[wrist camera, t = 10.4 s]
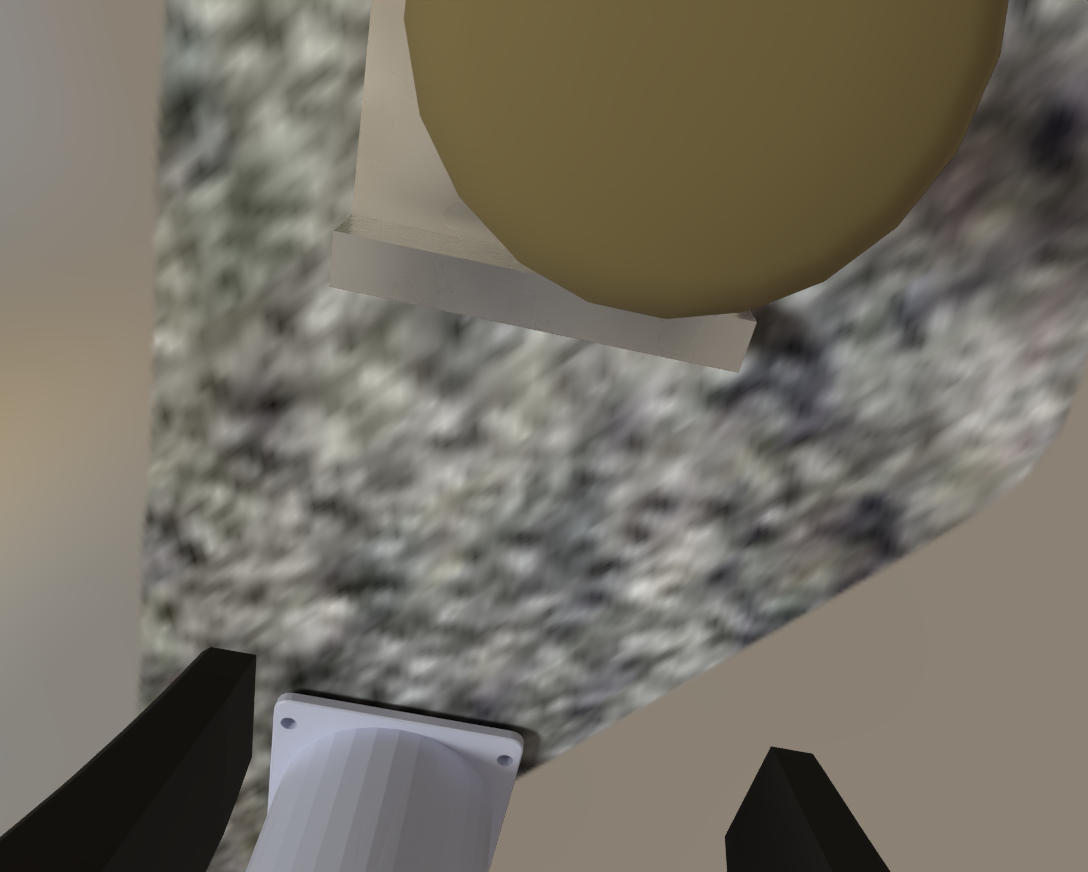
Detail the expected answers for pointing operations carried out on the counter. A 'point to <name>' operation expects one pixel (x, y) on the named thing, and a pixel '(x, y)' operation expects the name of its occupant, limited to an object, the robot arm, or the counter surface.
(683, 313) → the brown rounded piece
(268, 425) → the counter surface
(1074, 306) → the counter surface
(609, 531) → the counter surface
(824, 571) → the counter surface
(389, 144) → the bottom track
